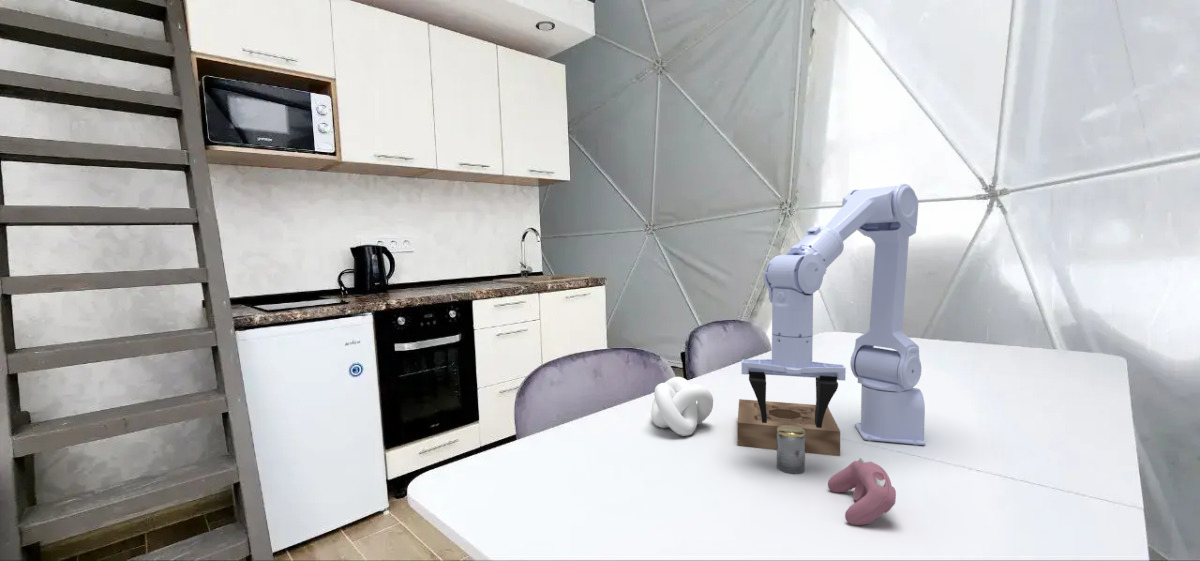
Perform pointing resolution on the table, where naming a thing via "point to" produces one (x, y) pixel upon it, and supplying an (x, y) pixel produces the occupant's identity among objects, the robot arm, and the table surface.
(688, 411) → the white knot sculpture
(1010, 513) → the table surface
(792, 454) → the brass capped cylinder
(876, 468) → the video game controller
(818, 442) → the jig
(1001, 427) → the table surface
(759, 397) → the robot arm
